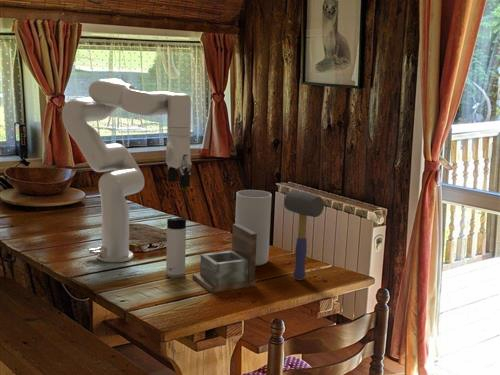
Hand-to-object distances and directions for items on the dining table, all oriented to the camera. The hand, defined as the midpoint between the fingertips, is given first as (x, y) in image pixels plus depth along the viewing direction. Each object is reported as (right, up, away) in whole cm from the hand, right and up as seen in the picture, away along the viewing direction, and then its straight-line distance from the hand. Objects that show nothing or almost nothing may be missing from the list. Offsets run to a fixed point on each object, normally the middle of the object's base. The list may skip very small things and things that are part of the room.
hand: (178, 184), depth 215 cm
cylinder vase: (+24, -28, +23) cm, 43 cm away
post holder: (+15, -32, 0) cm, 35 cm away
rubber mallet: (+40, -32, +6) cm, 52 cm away
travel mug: (-2, -31, +5) cm, 31 cm away
